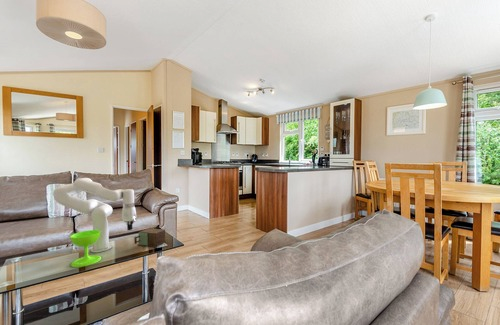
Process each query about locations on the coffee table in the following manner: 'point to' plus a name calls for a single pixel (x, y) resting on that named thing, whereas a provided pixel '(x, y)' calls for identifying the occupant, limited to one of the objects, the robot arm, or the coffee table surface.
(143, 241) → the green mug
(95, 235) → the wineglass
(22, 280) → the coffee table surface
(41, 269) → the coffee table surface
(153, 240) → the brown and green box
